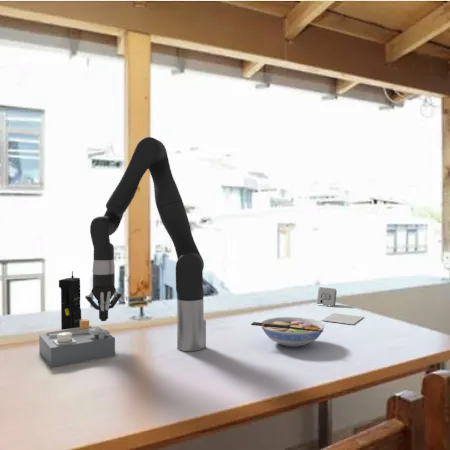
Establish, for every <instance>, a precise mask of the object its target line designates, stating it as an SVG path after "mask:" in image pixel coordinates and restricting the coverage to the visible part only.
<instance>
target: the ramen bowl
mask: <svg viewBox="0 0 450 450" xmlns="http://www.w3.org/2000/svg"><path fill="white" fill-rule="evenodd" d="M250 325H251V326H255V327H257V326H259V327H261V329H262V330H263V332H264V333H265V335H266V336H267V337H268V338H269V339H270V340H271V341H272V342H274V343H277V344H279V345H282V346H284V347H287V348H300V347H302V346H305V345H308V344H310V343H313V342H314V341H316V340H317V339H318V338H319V337H320V336H321V334H322V333H323V332H324V329H325V324H324V323H323V322H321V321H319V320H315V319H312V318H306V317H297V316H296V317H295V316H282V317H281V316H279V317H272V318H267V319H264V320H262V321H261V322H260V321H259V322H257V321H253V322H251V324H250Z"/></svg>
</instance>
